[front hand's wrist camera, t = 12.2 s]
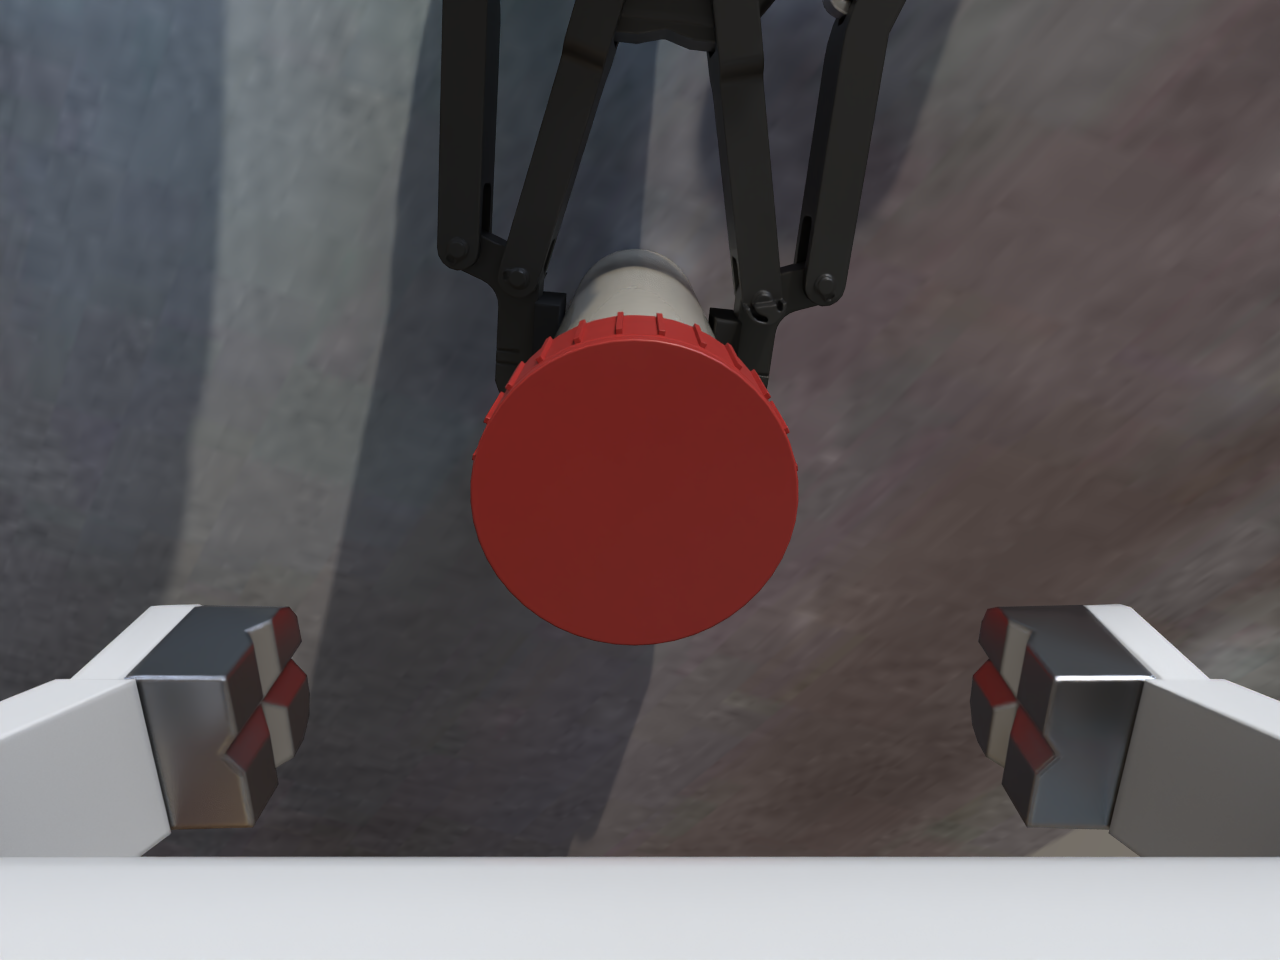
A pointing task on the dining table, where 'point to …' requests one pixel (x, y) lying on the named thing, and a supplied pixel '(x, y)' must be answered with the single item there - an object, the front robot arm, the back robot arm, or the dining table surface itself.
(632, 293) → the cream cylinder
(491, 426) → the lid
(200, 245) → the dining table surface
